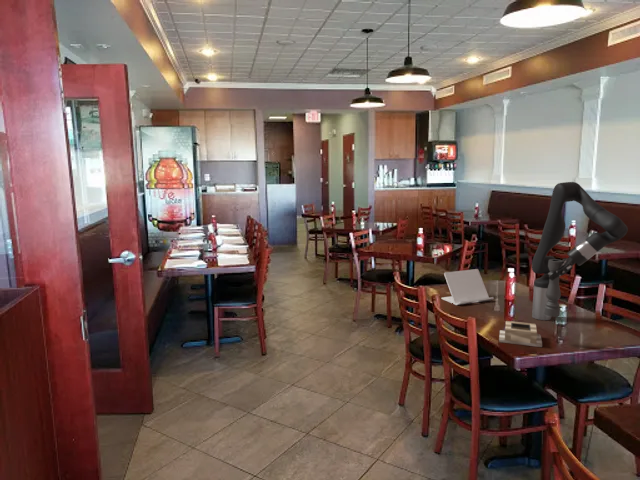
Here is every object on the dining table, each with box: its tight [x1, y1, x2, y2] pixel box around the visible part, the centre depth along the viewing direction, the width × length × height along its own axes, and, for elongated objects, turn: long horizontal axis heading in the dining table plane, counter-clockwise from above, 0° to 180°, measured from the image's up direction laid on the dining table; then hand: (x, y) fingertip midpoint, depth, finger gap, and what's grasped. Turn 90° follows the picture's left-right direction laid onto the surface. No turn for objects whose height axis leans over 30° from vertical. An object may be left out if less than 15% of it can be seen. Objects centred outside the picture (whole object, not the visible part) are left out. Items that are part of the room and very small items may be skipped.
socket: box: [498, 320, 543, 348], centre depth 222 cm, size 14×18×6 cm
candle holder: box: [544, 258, 563, 318], centre depth 214 cm, size 6×6×25 cm
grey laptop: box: [441, 268, 494, 306], centre depth 285 cm, size 18×25×17 cm
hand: (549, 277), depth 213 cm, fingers closed on candle holder, 5 cm apart
